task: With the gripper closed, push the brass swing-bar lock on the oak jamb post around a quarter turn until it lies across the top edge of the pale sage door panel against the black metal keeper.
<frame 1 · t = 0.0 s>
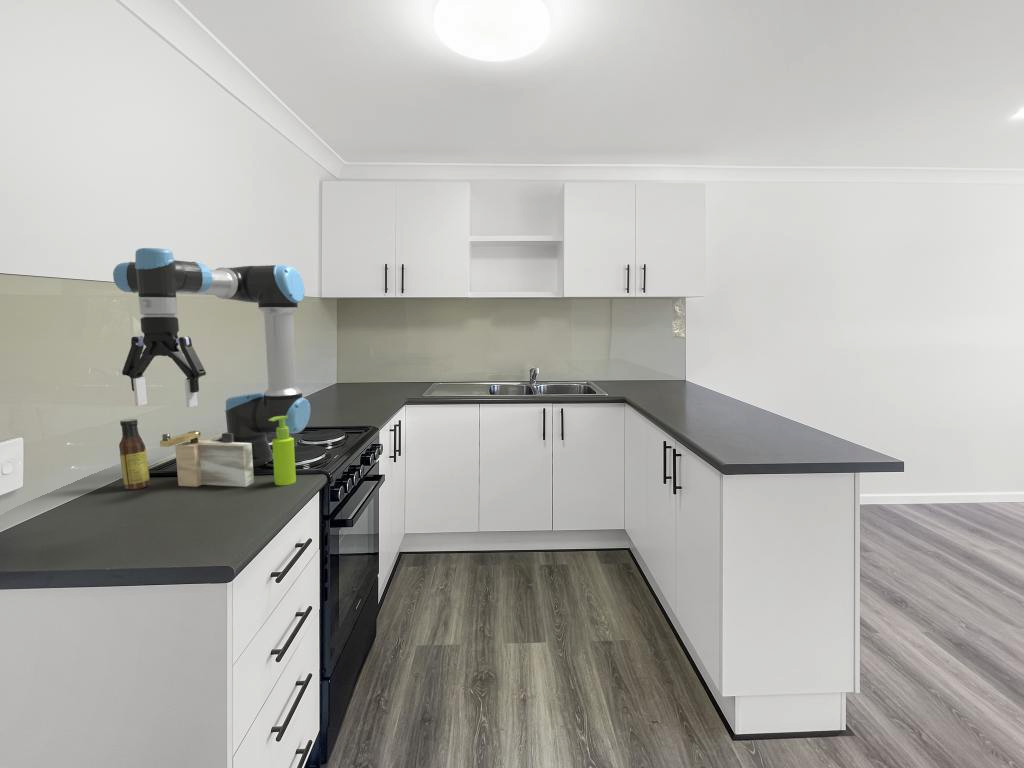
hand: (166, 405, 134), 28 cm above the counter, fingers open, 13 cm apart
soap dispenser: (284, 483, 166), on the counter
sauce bottle: (136, 487, 162), on the counter
swing bar: (181, 435, 160), point 15 cm above the counter, hinge at 0.0°
door frame: (197, 482, 166), on the counter
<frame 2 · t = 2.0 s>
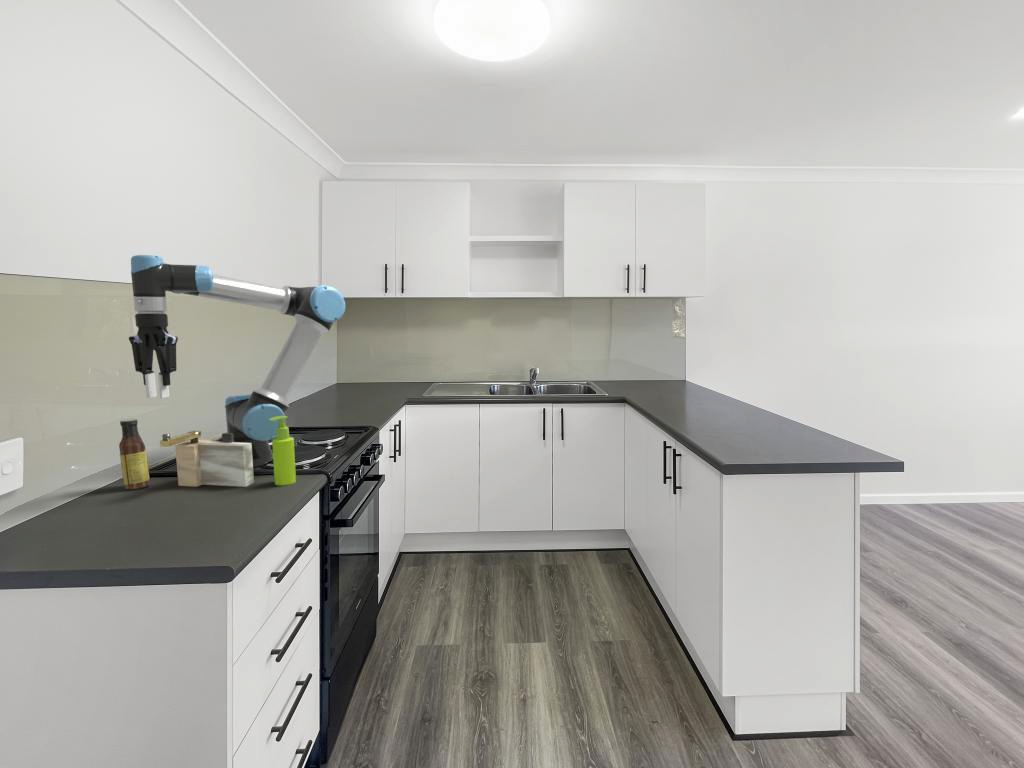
hand: (158, 397, 157), 27 cm above the counter, fingers open, 3 cm apart
nothing on the counter moved.
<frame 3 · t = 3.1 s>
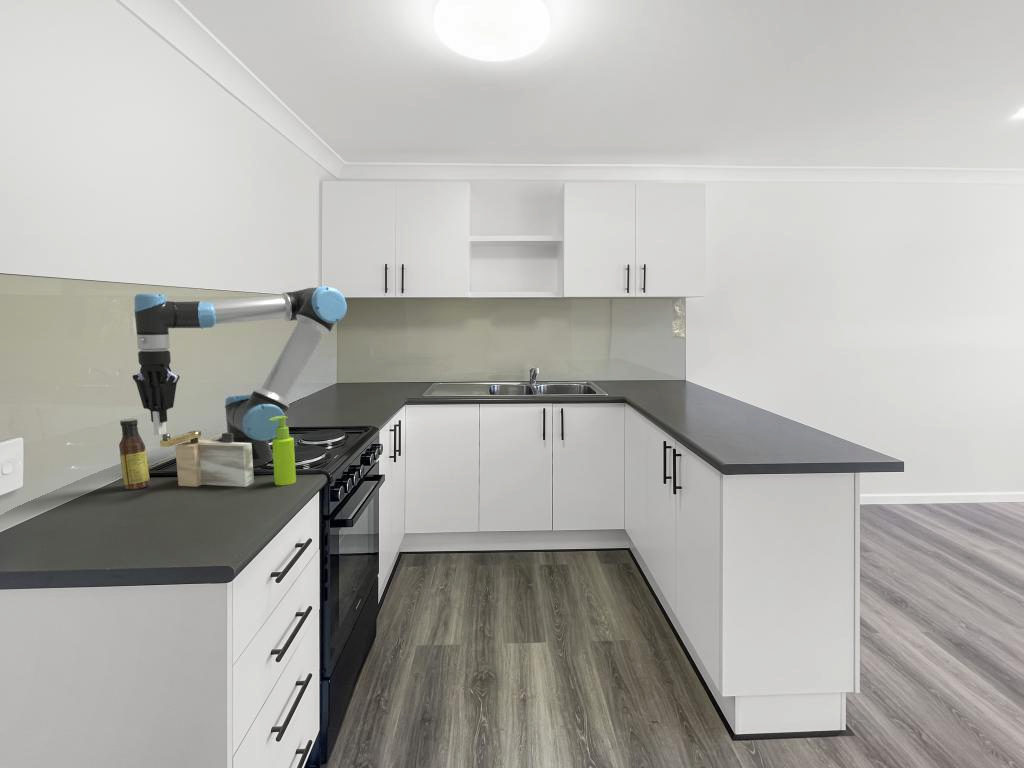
hand: (160, 433, 158), 16 cm above the counter, fingers closed
nothing on the counter moved.
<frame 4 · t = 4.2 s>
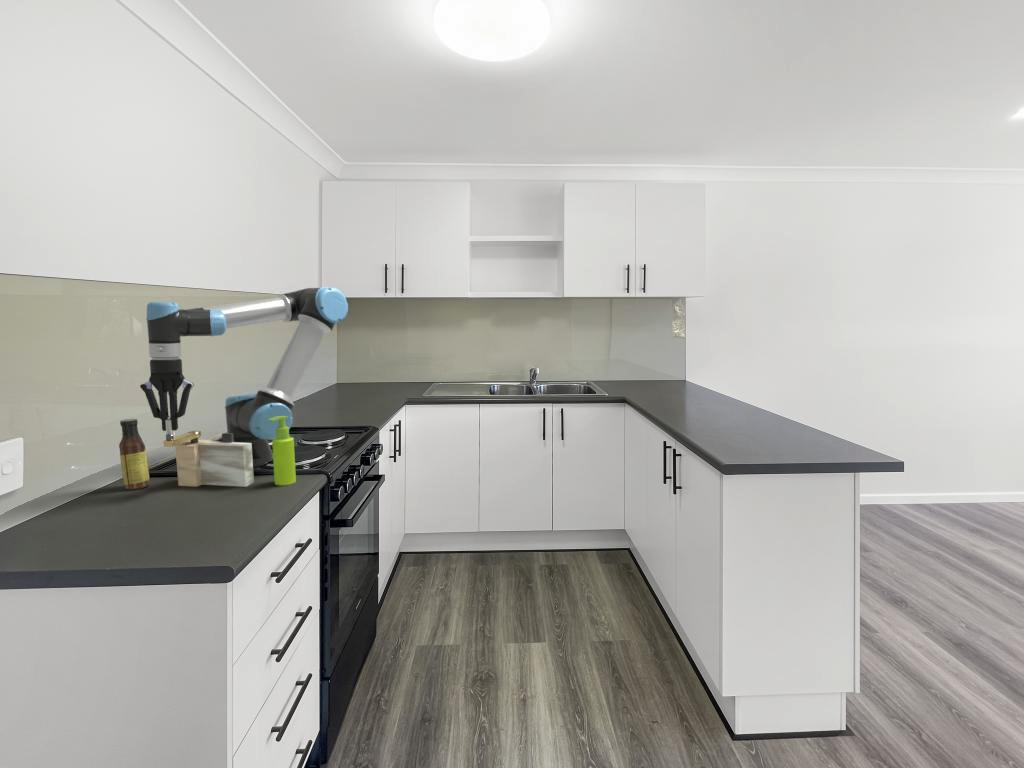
hand: (171, 441, 158), 14 cm above the counter, fingers closed
swing bar: (182, 435, 160), point 15 cm above the counter, hinge at 5.8°, touching gripper
everything else where it was.
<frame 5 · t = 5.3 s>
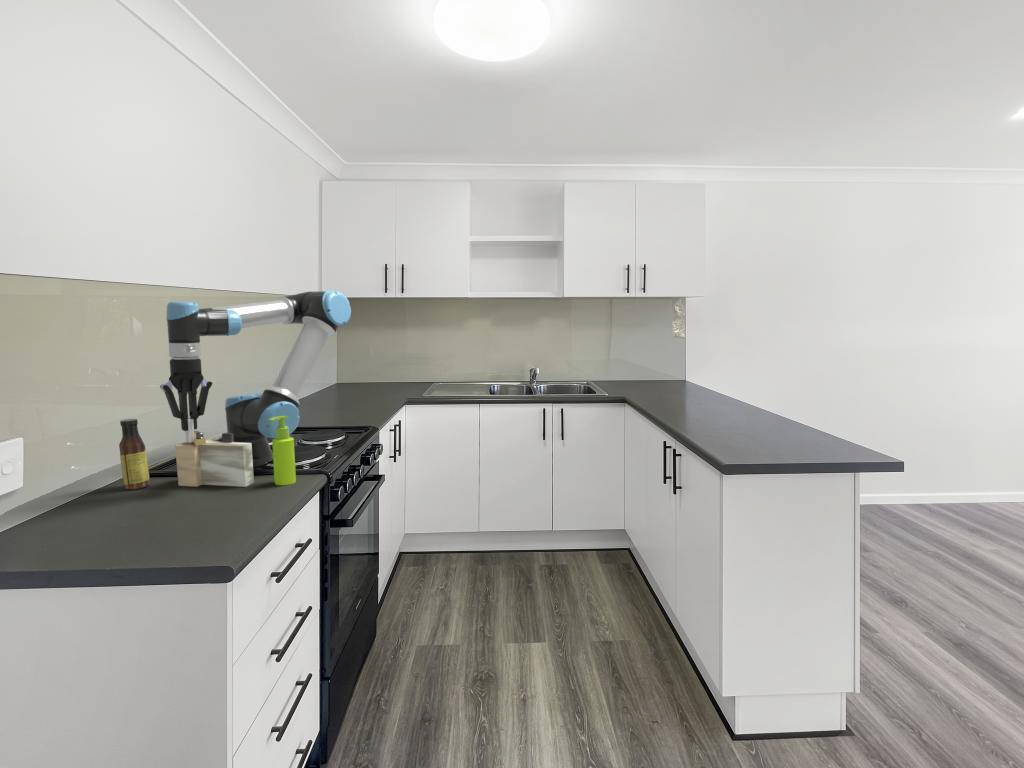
hand: (190, 441, 158), 14 cm above the counter, fingers closed
swing bar: (196, 434, 161), point 15 cm above the counter, hinge at 46.7°, touching gripper
everything else where it was.
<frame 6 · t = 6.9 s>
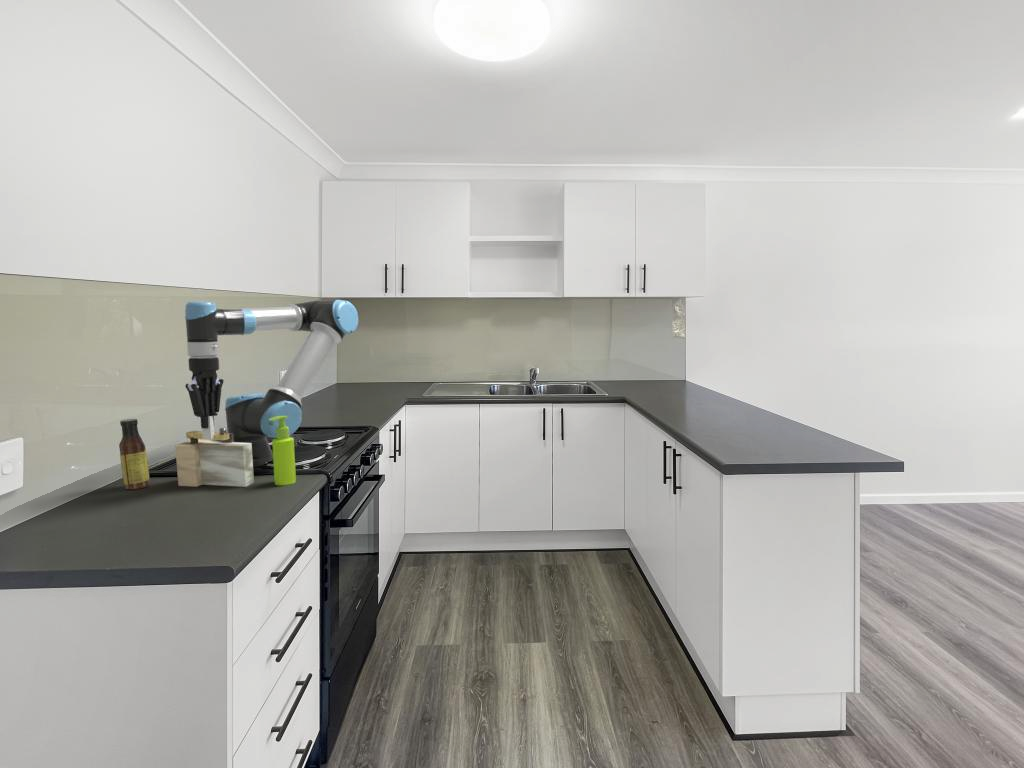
hand: (208, 438, 161), 14 cm above the counter, fingers closed
swing bar: (207, 432, 163), point 15 cm above the counter, hinge at 83.5°, touching gripper
everything else where it was.
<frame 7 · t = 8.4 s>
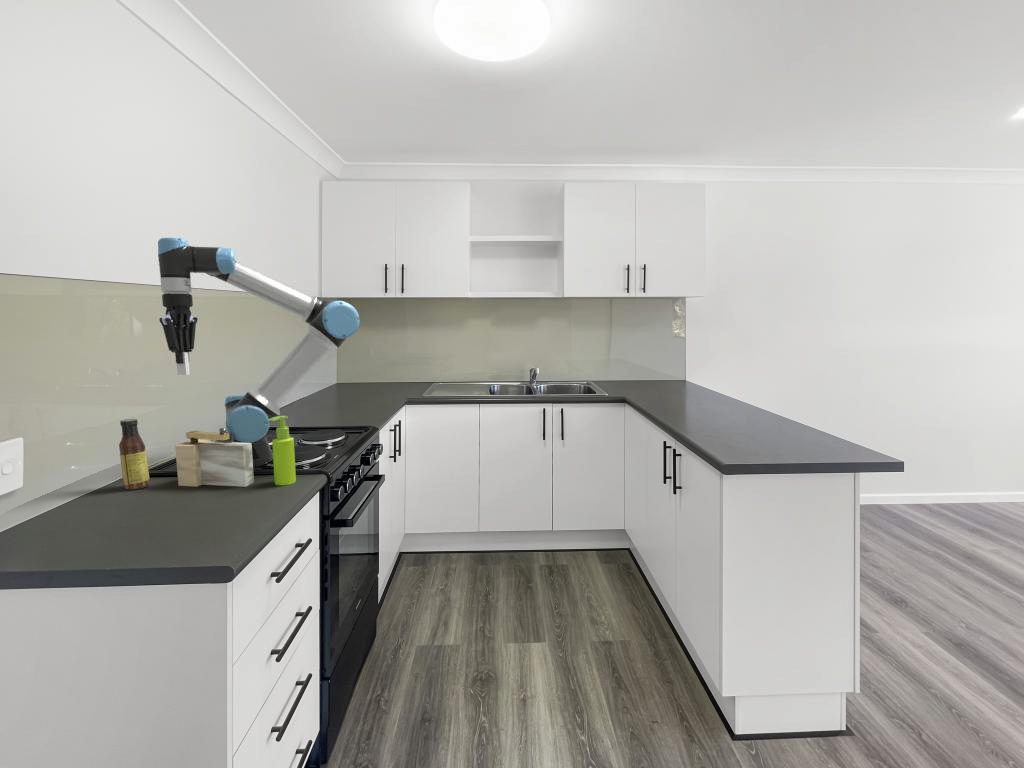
hand: (183, 374, 165), 32 cm above the counter, fingers closed
swing bar: (207, 432, 163), point 15 cm above the counter, hinge at 83.5°
everything else where it was.
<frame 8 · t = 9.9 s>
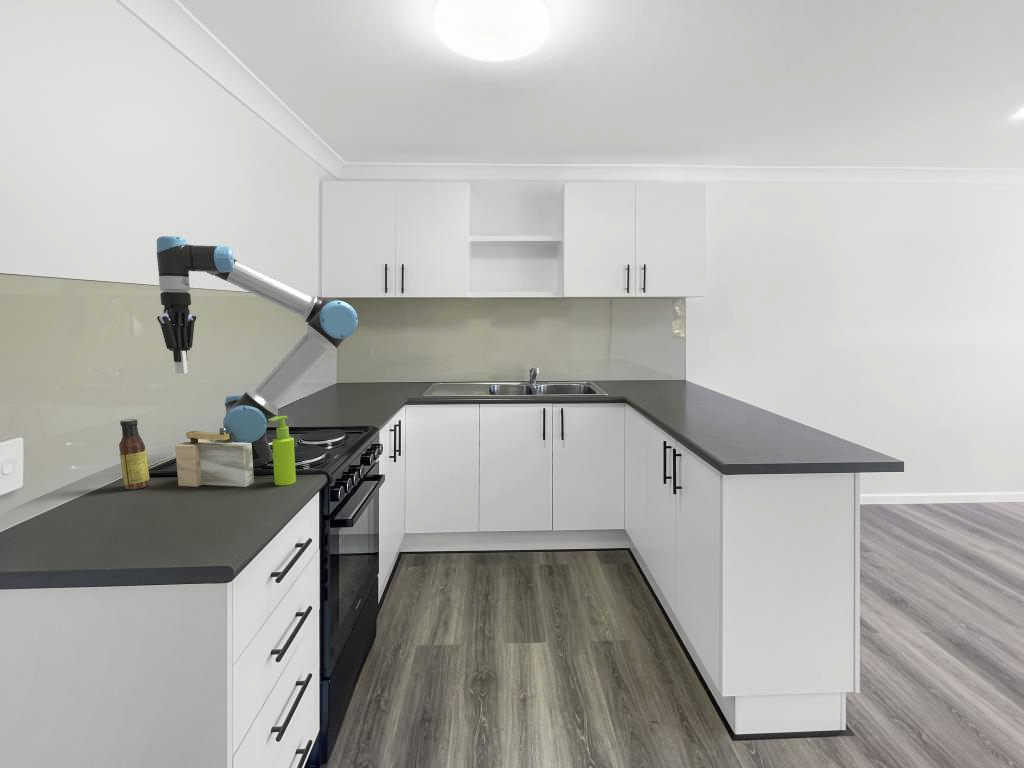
hand: (181, 372, 165), 32 cm above the counter, fingers closed
nothing on the counter moved.
at the end: swing bar at +84° (first picture: +0°); sauce bottle moved 0.2 cm from its start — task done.
